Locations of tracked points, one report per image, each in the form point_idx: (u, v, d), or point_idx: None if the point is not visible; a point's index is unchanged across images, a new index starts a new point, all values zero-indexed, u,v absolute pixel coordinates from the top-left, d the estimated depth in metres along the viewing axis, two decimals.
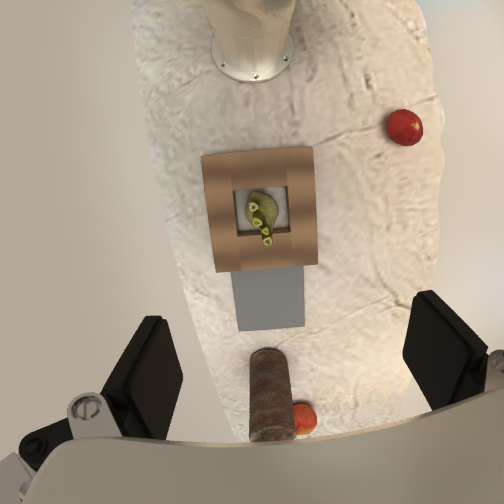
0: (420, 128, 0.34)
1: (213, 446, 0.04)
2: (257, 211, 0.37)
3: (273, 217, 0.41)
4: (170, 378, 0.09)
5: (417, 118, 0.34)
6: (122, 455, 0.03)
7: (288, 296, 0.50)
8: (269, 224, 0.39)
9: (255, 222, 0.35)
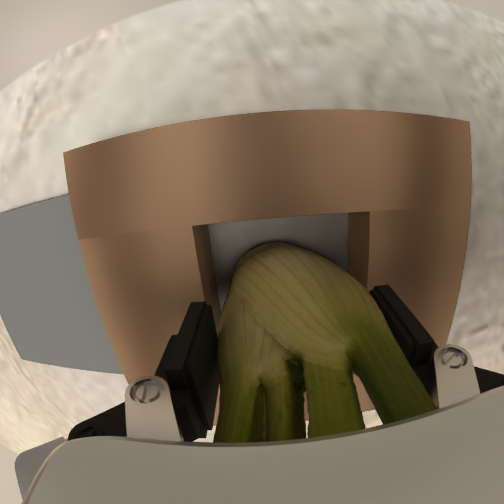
0: None
1: (212, 445, 0.04)
2: None
3: None
4: (215, 362, 0.10)
5: None
6: (122, 455, 0.03)
7: (58, 338, 0.16)
8: None
9: None
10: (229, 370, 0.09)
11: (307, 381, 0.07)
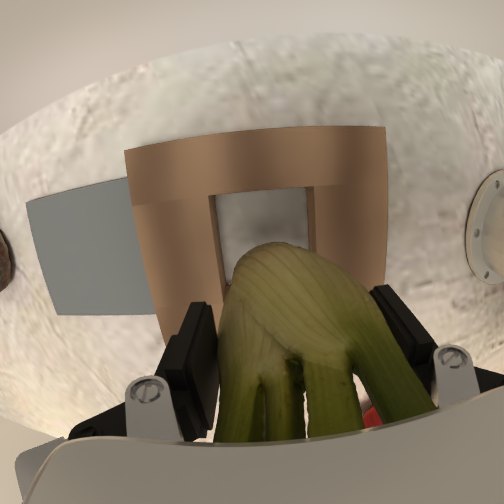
0: None
1: (213, 446, 0.04)
2: None
3: None
4: (215, 362, 0.10)
5: None
6: (122, 455, 0.03)
7: (97, 289, 0.24)
8: None
9: None
10: (228, 370, 0.09)
11: (307, 380, 0.07)
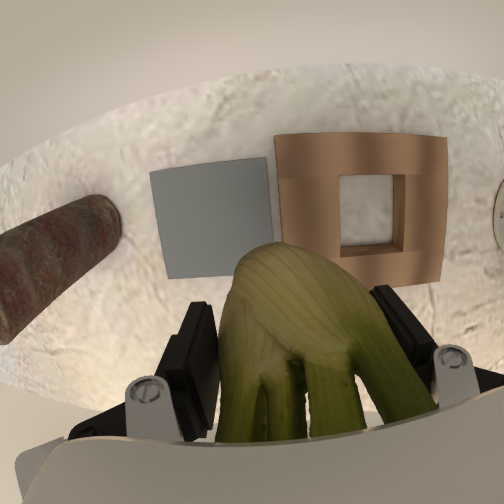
0: None
1: (212, 446, 0.04)
2: None
3: None
4: (215, 362, 0.10)
5: None
6: (122, 455, 0.03)
7: (221, 252, 0.31)
8: None
9: None
10: (229, 371, 0.09)
11: (309, 381, 0.07)
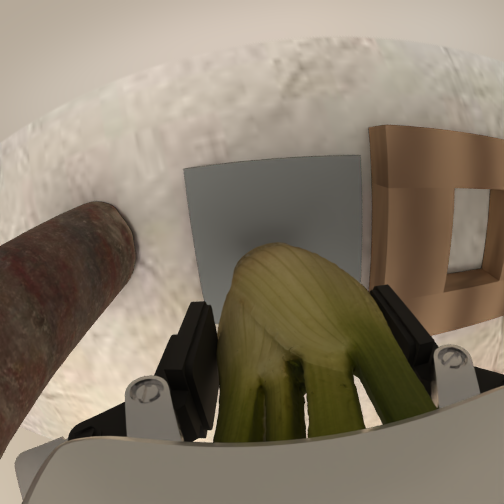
0: None
1: (212, 446, 0.04)
2: None
3: None
4: (215, 362, 0.10)
5: None
6: (122, 455, 0.03)
7: None
8: None
9: None
10: (228, 371, 0.09)
11: (307, 382, 0.07)
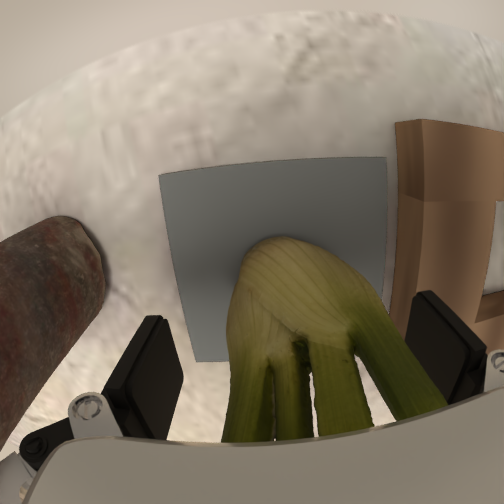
0: None
1: (212, 445, 0.04)
2: None
3: None
4: (171, 378, 0.09)
5: None
6: (122, 455, 0.03)
7: None
8: None
9: None
10: (239, 353, 0.10)
11: (312, 359, 0.08)
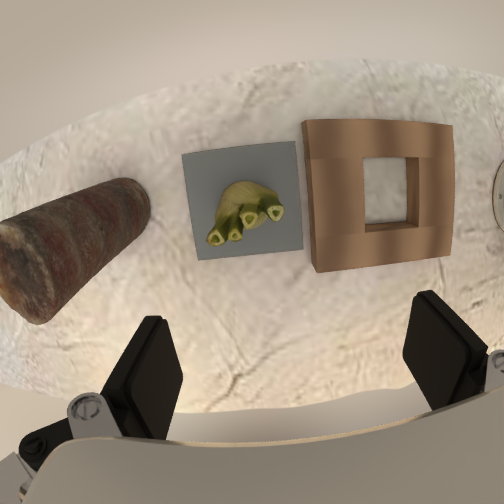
0: None
1: (212, 445, 0.04)
2: None
3: None
4: (170, 378, 0.09)
5: None
6: (122, 455, 0.03)
7: (252, 231, 0.32)
8: None
9: (248, 216, 0.20)
10: (218, 216, 0.25)
11: (243, 206, 0.23)
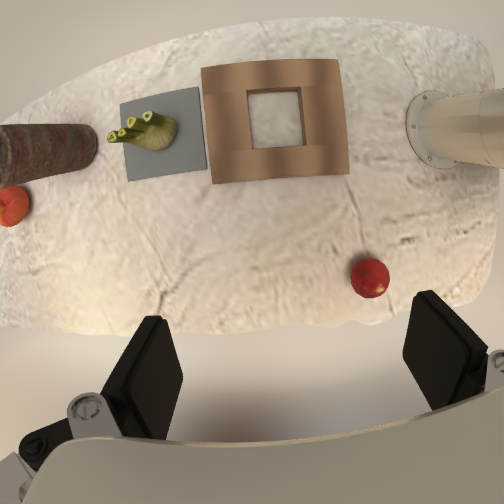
0: (376, 294, 0.38)
1: (212, 446, 0.04)
2: (146, 123, 0.28)
3: (146, 144, 0.33)
4: (170, 378, 0.09)
5: (384, 290, 0.38)
6: (122, 455, 0.03)
7: (166, 155, 0.38)
8: (136, 139, 0.31)
9: (131, 120, 0.26)
10: None
11: None
